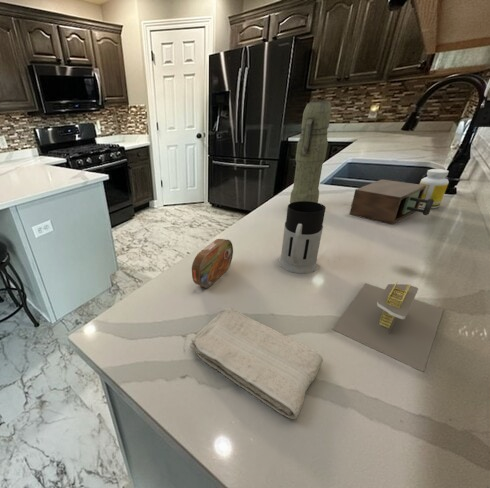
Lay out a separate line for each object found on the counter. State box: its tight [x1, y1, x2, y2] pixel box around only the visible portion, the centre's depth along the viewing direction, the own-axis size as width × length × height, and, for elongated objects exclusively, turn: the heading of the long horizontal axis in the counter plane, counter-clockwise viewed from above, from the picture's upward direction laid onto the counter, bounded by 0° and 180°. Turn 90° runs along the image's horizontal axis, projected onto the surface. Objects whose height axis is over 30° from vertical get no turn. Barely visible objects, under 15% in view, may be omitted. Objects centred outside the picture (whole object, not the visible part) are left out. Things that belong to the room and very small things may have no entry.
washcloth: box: [189, 307, 324, 420], centre depth 42 cm, size 12×18×3 cm, turn 46°
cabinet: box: [349, 179, 426, 226], centre depth 84 cm, size 12×16×8 cm
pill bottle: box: [418, 168, 450, 209], centre depth 84 cm, size 6×6×12 cm
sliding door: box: [401, 191, 434, 216], centre depth 78 cm, size 6×7×6 cm
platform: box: [332, 280, 444, 373], centre depth 45 cm, size 12×18×7 cm, turn 131°
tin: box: [191, 238, 234, 289], centre depth 62 cm, size 15×3×8 cm, turn 139°
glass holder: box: [277, 201, 326, 274], centre depth 59 cm, size 9×14×15 cm, turn 147°
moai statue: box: [289, 99, 332, 204], centre depth 87 cm, size 9×12×35 cm
